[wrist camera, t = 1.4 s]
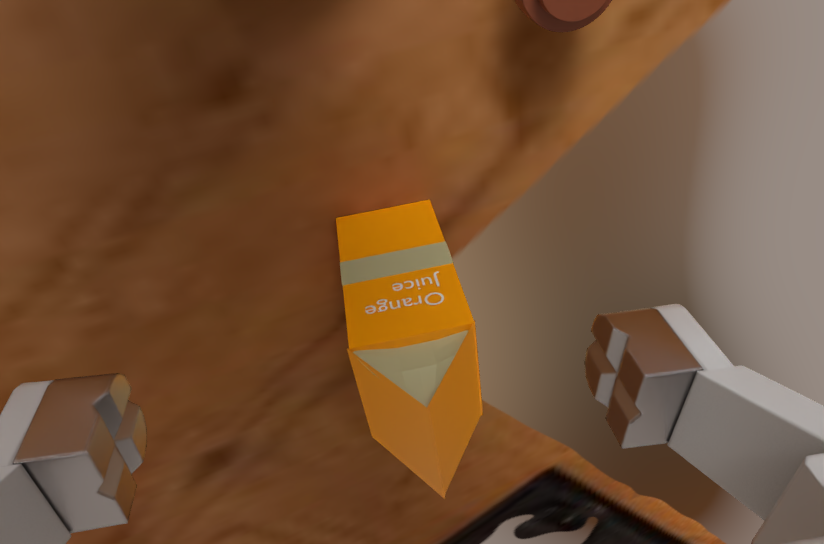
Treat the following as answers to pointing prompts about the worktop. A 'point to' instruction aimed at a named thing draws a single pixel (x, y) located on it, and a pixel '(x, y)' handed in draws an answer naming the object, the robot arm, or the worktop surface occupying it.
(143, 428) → the robot arm
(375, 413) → the orange juice
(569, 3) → the brown stepped knob
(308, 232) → the worktop surface
